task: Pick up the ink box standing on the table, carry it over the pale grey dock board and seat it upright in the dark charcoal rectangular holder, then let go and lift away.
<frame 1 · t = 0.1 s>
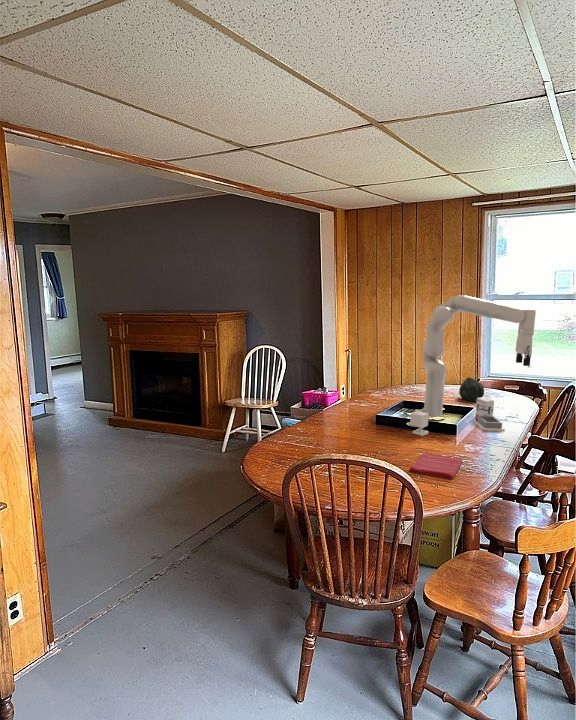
hand: (522, 364, 283), 31 cm above the table, tool pointing down, fingers open, 9 cm apart
security camera: (419, 433, 261), on the table
ink box: (483, 420, 287), on the table
squash: (470, 400, 334), on the table
dish towel: (436, 468, 215), on the table
dock board: (489, 426, 275), on the table
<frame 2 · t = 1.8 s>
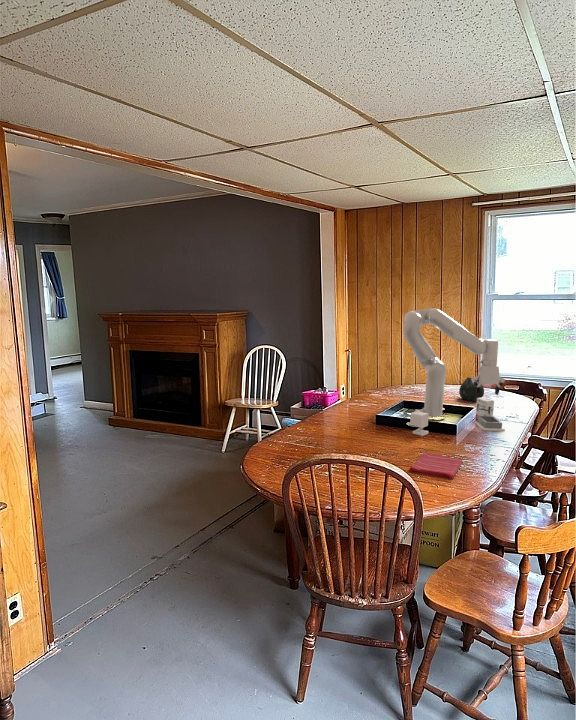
hand: (487, 394, 285), 14 cm above the table, tool pointing down, fingers open, 9 cm apart
nothing on the table moved.
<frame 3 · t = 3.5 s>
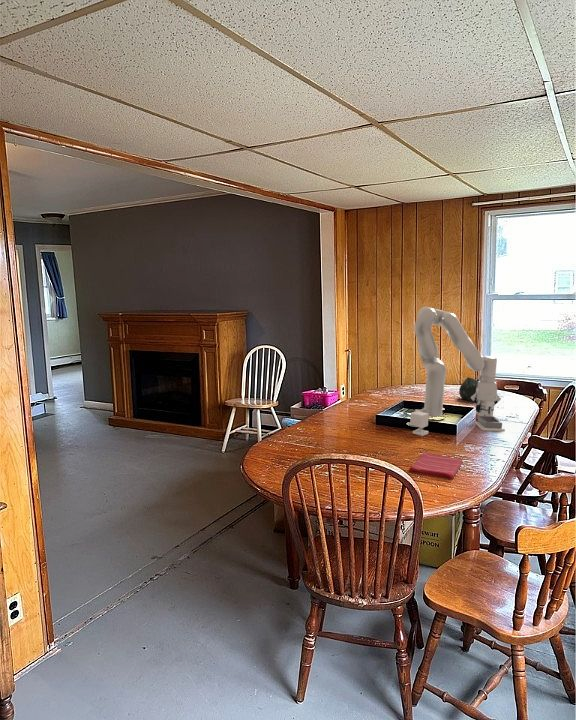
hand: (484, 411, 287), 5 cm above the table, tool pointing down, fingers closed on ink box, 6 cm apart
ink box: (483, 420, 287), on the table, touching gripper
everything else where it was.
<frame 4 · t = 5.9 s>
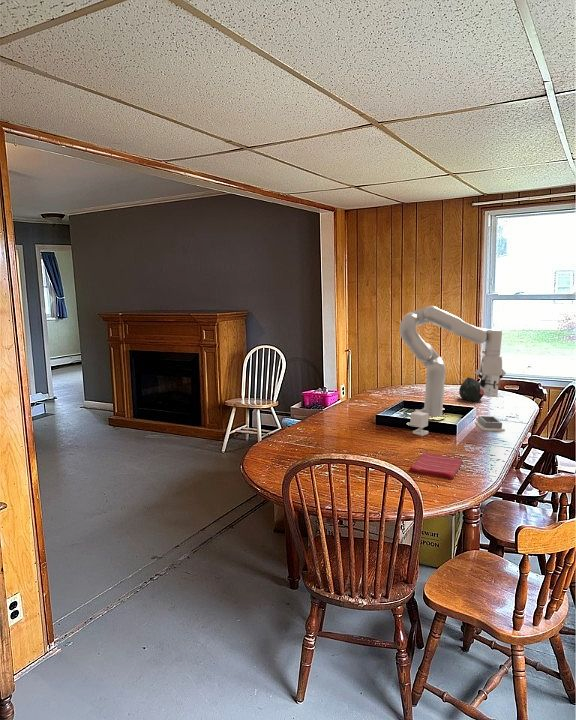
hand: (489, 386, 279), 20 cm above the table, tool pointing down, fingers closed on ink box, 6 cm apart
ink box: (488, 395, 280), point 15 cm above the table, touching gripper
everything else where it was.
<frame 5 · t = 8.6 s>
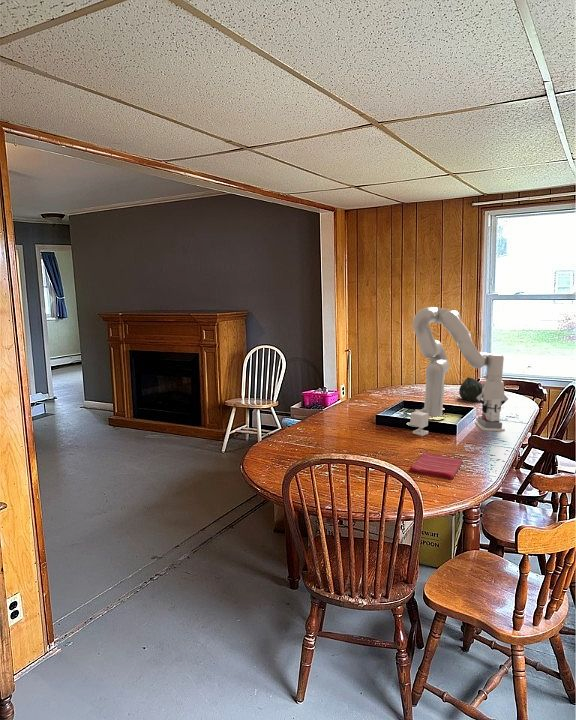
hand: (491, 412, 274), 8 cm above the table, tool pointing down, fingers closed on ink box, 6 cm apart
ink box: (490, 420, 274), point 4 cm above the table, touching dock board, gripper
everything else where it was.
when the fingers open (7 cm above the table, at t = 9.7 s): ink box drops 1 cm, resting on dock board.
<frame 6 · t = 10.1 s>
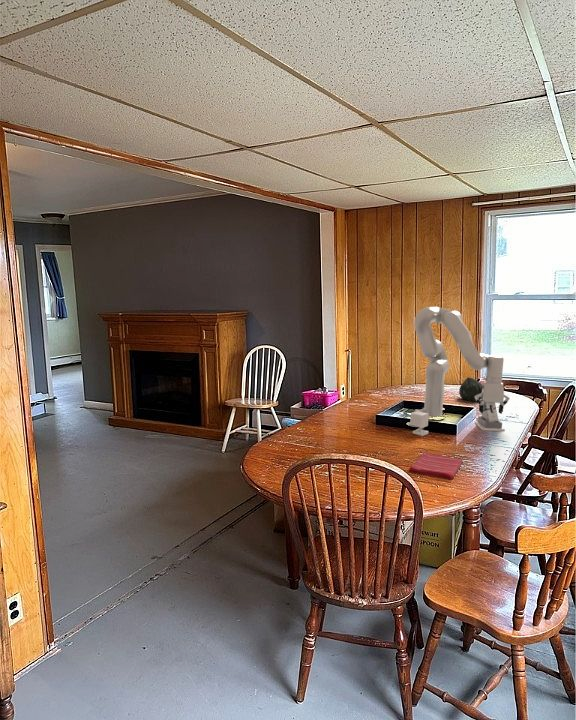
hand: (490, 412, 274), 7 cm above the table, tool pointing down, fingers open, 9 cm apart
ink box: (490, 422, 275), point 2 cm above the table, touching dock board
everything else where it was.
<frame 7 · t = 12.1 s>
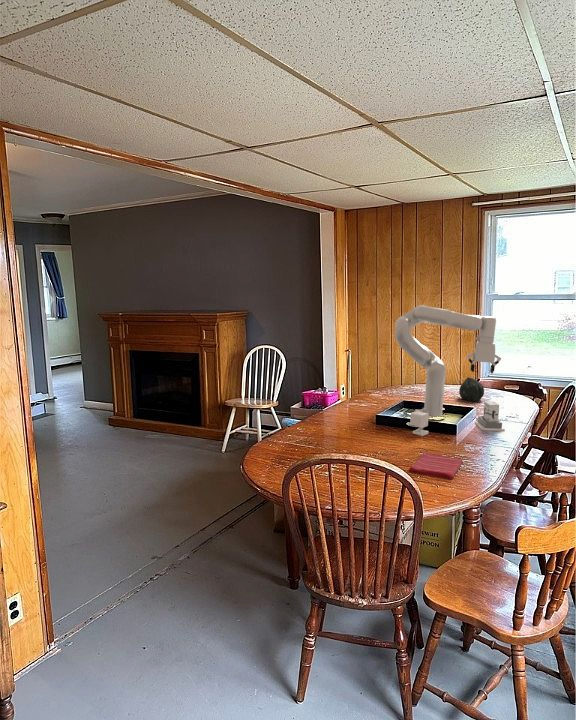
hand: (482, 372, 282), 26 cm above the table, tool pointing down, fingers open, 9 cm apart
ink box: (489, 425, 275), point 1 cm above the table, touching dock board
everything else where it was.
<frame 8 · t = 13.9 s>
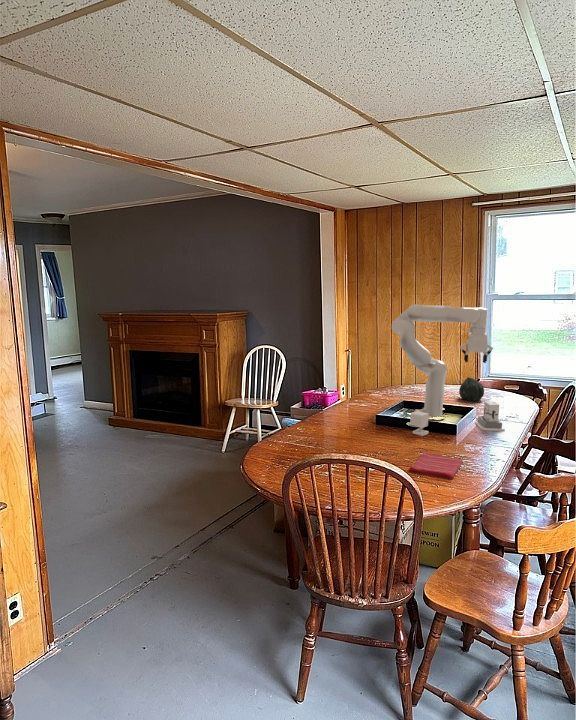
hand: (475, 362, 290), 30 cm above the table, tool pointing down, fingers open, 9 cm apart
nothing on the table moved.
at the end: ink box 0.2 cm off-centre on the dock board, point 0.8 cm above the dock board's base; ink box tilted 0°; the gripper is holding nothing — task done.
